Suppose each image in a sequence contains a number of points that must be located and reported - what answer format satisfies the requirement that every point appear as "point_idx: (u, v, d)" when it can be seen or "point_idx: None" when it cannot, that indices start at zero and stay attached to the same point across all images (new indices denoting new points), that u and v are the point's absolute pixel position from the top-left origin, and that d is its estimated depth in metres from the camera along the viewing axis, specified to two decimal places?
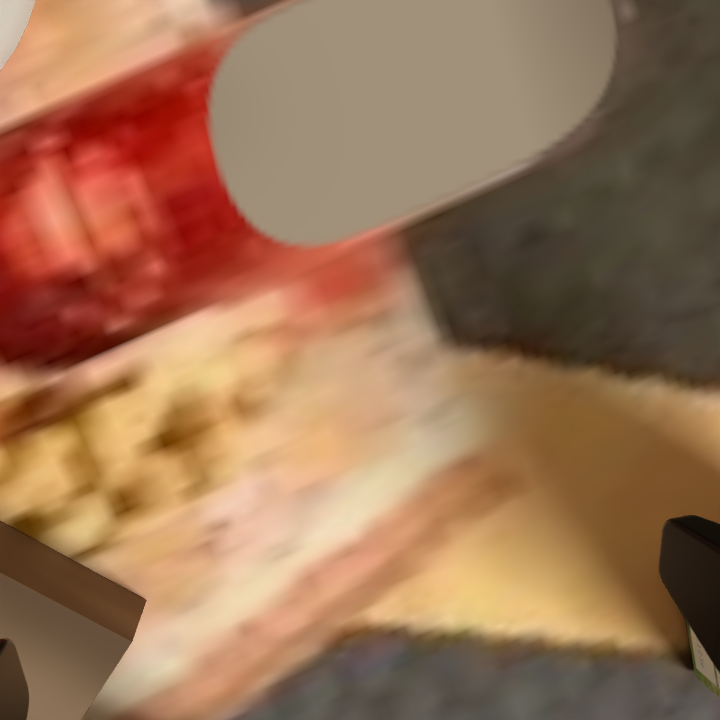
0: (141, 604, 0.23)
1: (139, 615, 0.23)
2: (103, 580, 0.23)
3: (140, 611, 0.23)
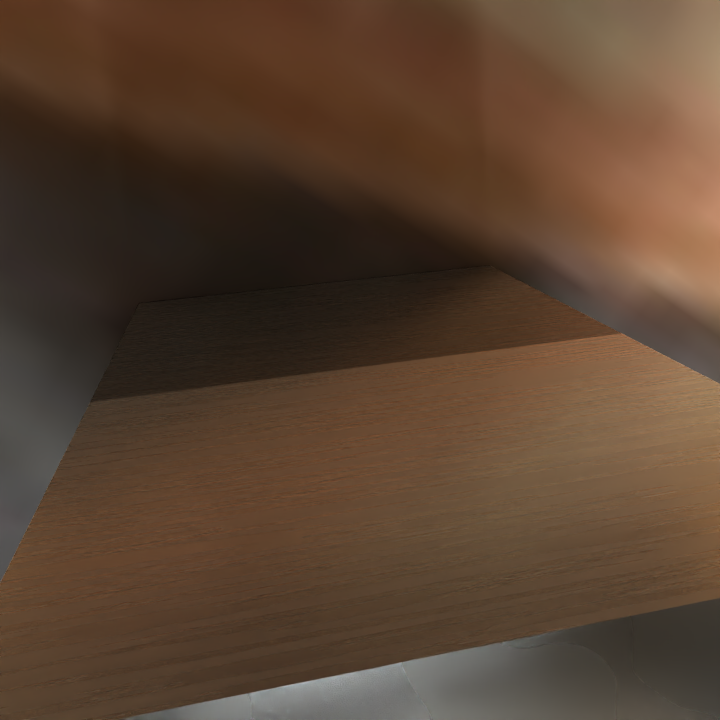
0: None
1: None
2: None
3: None
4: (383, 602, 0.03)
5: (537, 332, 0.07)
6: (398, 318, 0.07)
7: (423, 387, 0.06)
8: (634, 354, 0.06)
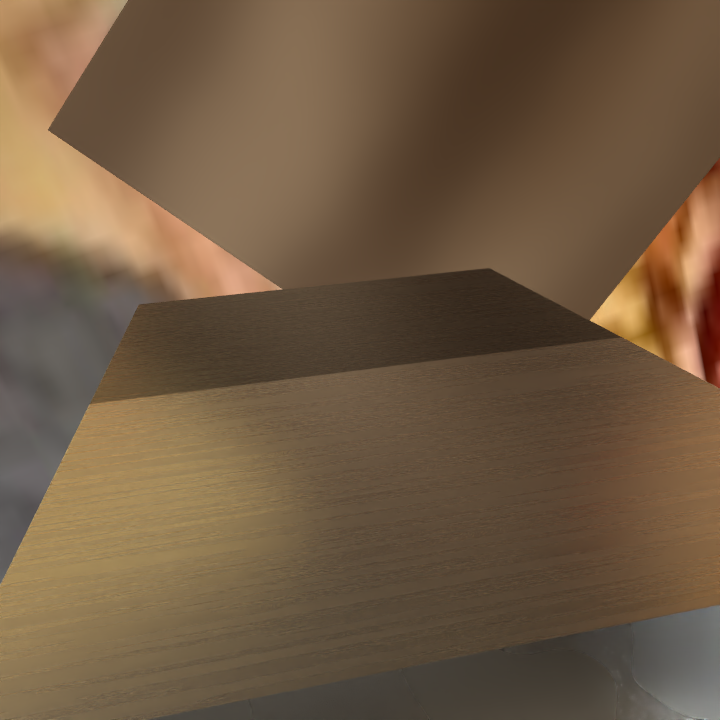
0: None
1: None
2: None
3: None
4: (383, 610, 0.03)
5: (536, 335, 0.07)
6: (398, 321, 0.07)
7: (423, 390, 0.06)
8: (633, 357, 0.06)
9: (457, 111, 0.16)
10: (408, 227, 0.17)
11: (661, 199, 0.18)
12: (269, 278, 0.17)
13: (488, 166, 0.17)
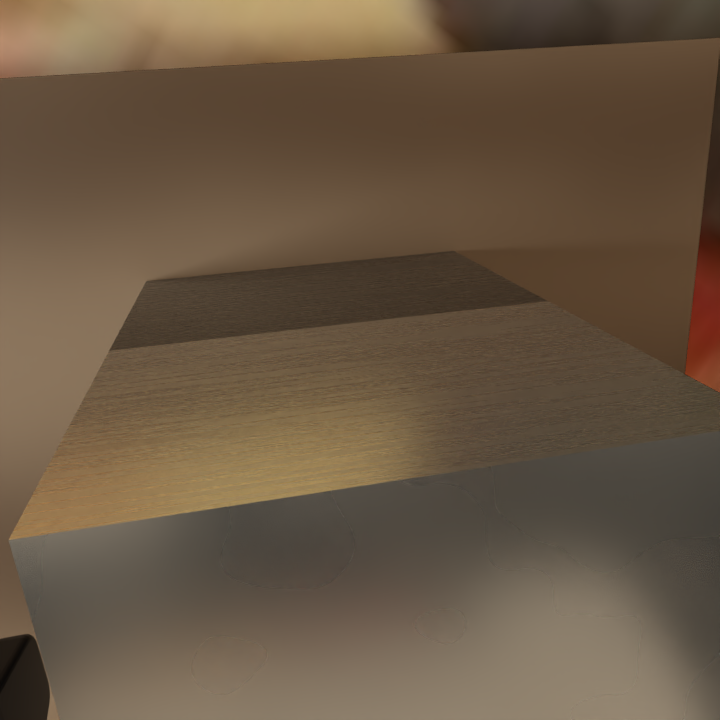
0: None
1: None
2: None
3: None
4: (324, 462, 0.04)
5: (479, 300, 0.08)
6: (366, 291, 0.09)
7: (377, 338, 0.07)
8: (552, 314, 0.07)
9: None
10: None
11: None
12: None
13: None
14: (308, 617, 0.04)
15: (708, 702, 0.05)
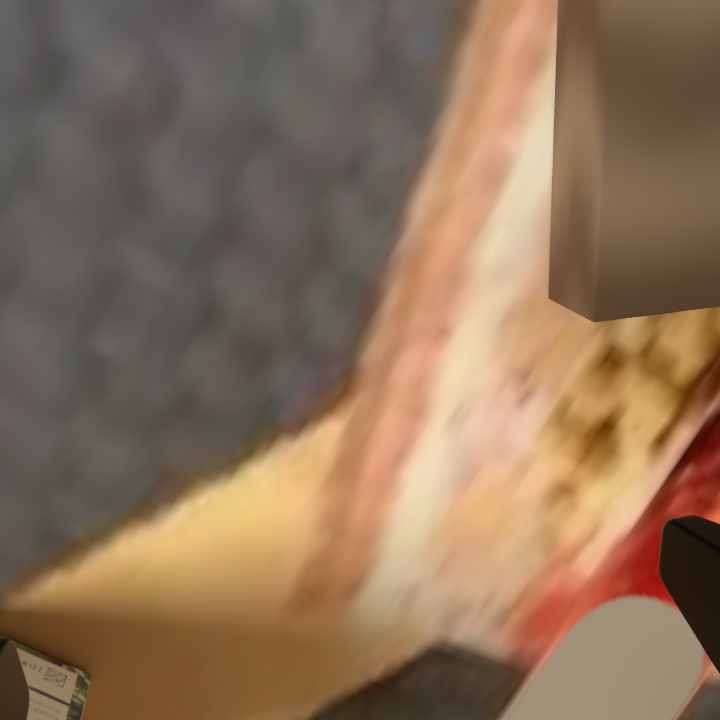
0: (557, 301, 0.22)
1: (567, 307, 0.21)
2: None
3: None
4: None
5: None
6: None
7: None
8: None
9: None
10: (711, 99, 0.18)
11: None
12: (612, 18, 0.17)
13: None
14: None
15: None
